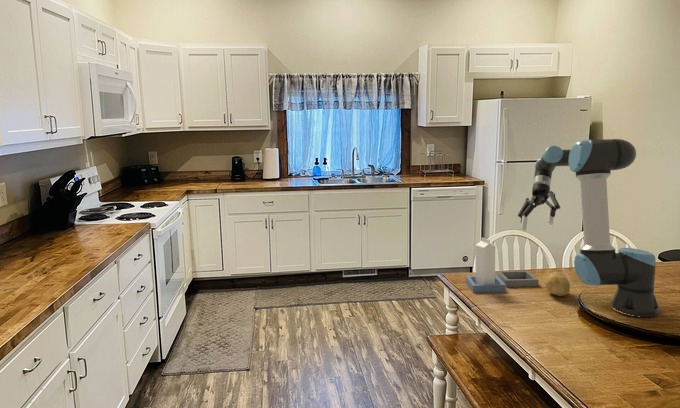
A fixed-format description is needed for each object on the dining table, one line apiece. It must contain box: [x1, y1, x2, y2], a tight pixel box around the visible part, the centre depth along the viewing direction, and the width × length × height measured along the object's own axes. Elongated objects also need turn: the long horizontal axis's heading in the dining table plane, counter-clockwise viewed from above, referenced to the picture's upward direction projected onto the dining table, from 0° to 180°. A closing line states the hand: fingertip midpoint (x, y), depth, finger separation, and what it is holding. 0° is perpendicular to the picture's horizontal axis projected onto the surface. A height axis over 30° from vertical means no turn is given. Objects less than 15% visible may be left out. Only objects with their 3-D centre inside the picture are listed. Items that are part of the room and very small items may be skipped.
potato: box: [544, 270, 571, 297], centre depth 199 cm, size 10×14×10 cm
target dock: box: [465, 274, 507, 293], centre depth 212 cm, size 14×14×3 cm
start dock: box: [496, 270, 539, 288], centre depth 218 cm, size 14×14×3 cm
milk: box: [475, 237, 496, 285], centre depth 211 cm, size 6×6×22 cm
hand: (536, 226), depth 213 cm, fingers open, 13 cm apart
